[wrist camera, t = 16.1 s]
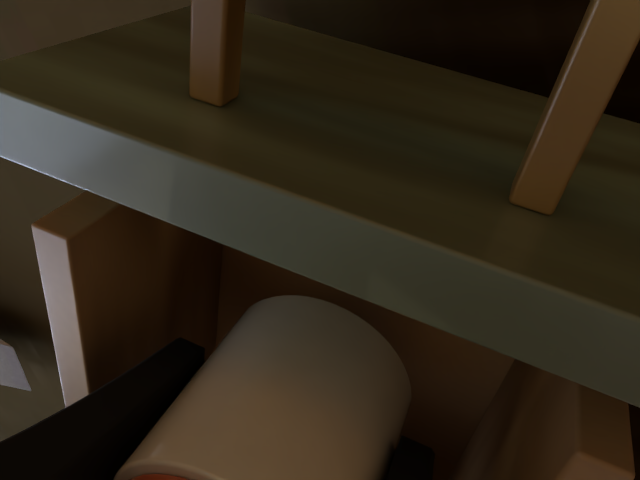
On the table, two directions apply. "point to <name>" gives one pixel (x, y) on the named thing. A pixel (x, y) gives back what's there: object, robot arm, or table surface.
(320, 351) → the paint pot
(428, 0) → the table surface
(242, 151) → the drawer
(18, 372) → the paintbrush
